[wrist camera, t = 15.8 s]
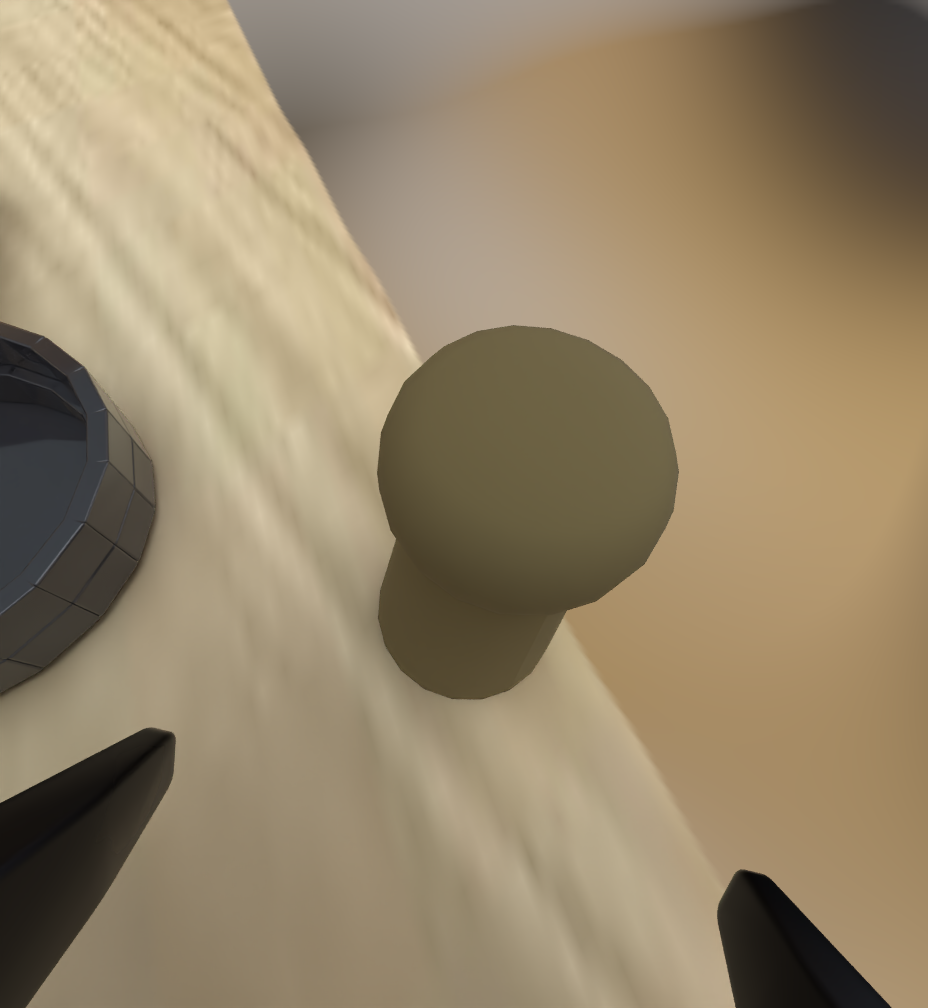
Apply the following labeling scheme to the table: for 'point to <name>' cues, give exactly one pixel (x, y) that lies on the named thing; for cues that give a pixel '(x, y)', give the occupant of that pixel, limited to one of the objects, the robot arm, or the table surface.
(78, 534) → the pan
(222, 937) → the table surface
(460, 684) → the cork
